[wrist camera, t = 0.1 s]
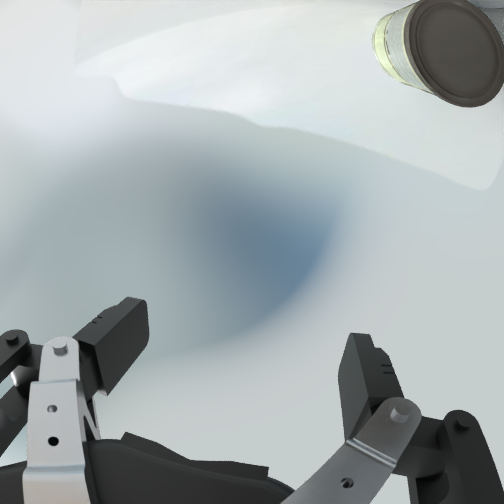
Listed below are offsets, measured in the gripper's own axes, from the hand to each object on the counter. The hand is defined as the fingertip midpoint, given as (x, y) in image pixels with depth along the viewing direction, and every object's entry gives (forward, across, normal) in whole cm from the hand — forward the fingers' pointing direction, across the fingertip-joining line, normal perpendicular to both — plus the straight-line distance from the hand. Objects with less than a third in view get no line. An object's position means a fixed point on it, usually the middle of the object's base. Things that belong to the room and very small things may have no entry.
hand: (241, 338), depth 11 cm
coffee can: (+25, -14, -24) cm, 37 cm away
